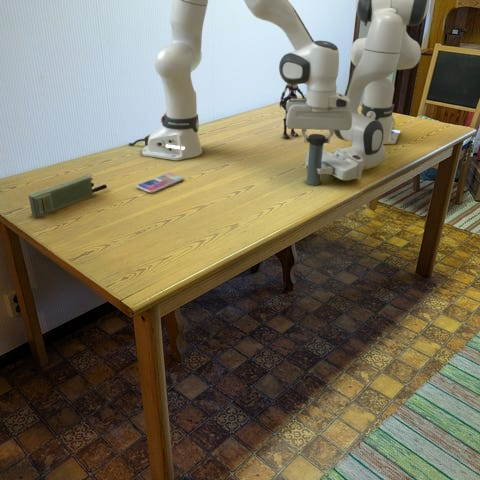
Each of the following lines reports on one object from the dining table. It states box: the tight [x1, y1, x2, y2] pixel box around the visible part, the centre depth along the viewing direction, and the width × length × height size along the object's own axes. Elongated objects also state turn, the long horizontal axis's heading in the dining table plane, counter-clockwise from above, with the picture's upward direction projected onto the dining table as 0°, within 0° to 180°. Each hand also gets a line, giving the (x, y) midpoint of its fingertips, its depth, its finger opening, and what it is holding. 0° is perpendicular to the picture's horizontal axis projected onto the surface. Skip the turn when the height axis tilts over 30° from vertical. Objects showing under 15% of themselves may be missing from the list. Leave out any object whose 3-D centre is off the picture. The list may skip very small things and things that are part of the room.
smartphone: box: [136, 172, 184, 194], centre depth 164 cm, size 7×1×15 cm
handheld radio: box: [28, 173, 108, 219], centre depth 150 cm, size 7×3×25 cm
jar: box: [305, 143, 324, 186], centre depth 163 cm, size 4×4×15 cm
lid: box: [308, 133, 326, 145], centre depth 160 cm, size 5×5×2 cm
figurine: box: [279, 83, 306, 140], centre depth 202 cm, size 15×6×30 cm, turn 132°
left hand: (316, 142), depth 160 cm, fingers closed on lid, 5 cm apart
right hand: (312, 168), depth 164 cm, fingers closed on jar, 4 cm apart
